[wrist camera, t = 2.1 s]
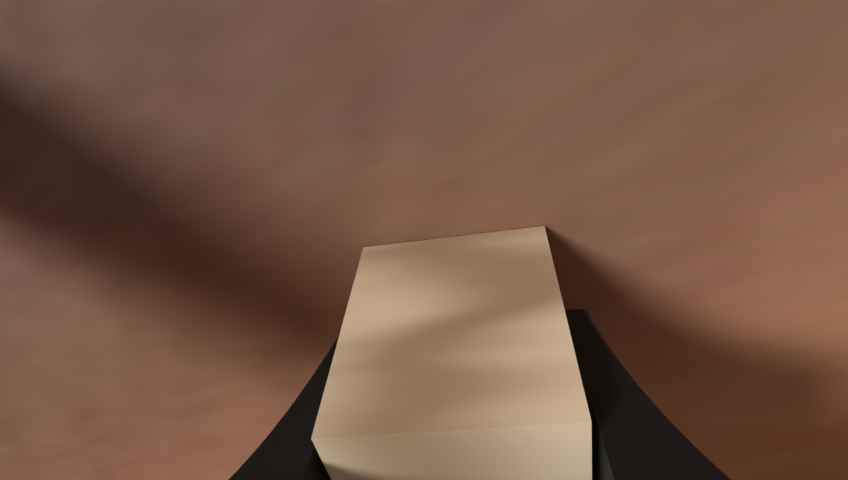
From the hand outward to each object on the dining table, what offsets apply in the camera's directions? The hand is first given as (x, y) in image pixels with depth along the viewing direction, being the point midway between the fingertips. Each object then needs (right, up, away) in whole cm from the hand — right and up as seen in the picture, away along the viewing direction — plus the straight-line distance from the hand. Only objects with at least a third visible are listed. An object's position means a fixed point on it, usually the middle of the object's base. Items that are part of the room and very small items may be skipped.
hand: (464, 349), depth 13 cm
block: (0, +1, +1) cm, 2 cm away
